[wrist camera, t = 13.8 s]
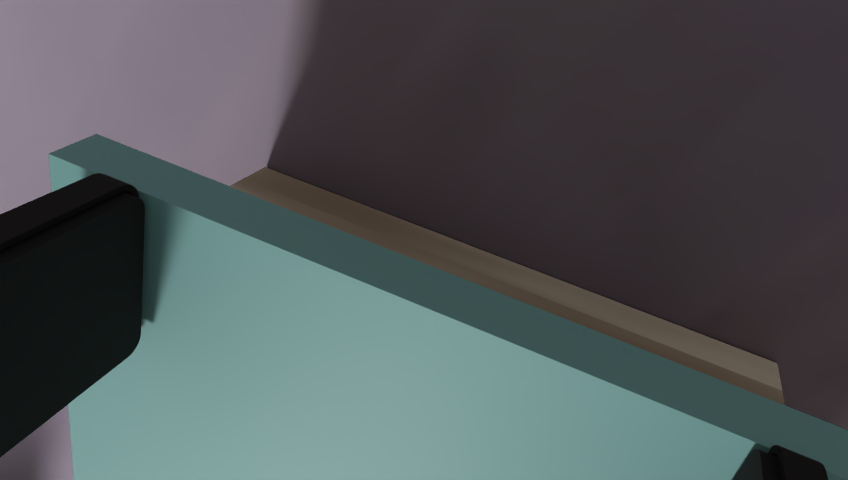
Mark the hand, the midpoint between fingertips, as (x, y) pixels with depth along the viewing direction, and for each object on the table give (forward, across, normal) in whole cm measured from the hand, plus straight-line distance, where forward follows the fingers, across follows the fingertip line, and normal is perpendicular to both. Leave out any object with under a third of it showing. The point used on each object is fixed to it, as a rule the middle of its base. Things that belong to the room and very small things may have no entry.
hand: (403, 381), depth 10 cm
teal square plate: (+1, 0, +5) cm, 5 cm away
